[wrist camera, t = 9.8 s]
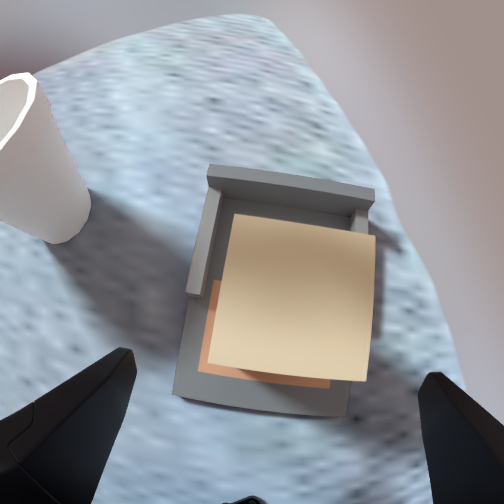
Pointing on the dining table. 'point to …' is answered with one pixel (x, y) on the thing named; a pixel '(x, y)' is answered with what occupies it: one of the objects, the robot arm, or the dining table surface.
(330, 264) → the beech block
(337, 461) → the dining table surface
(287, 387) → the tray
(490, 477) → the robot arm
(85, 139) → the dining table surface
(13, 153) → the foam cup
